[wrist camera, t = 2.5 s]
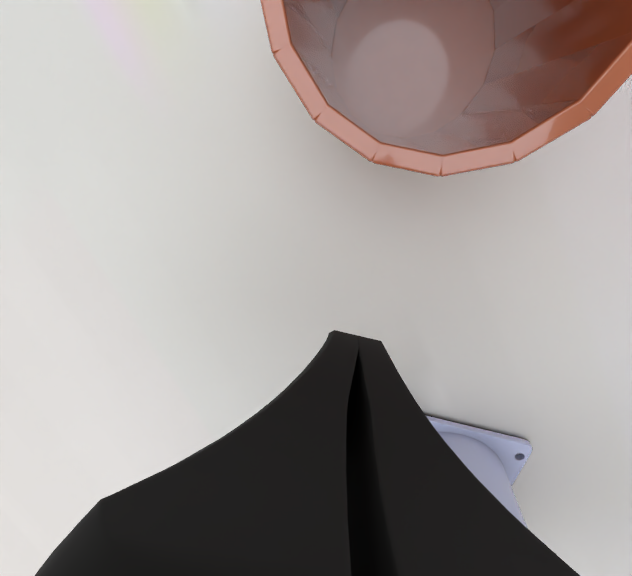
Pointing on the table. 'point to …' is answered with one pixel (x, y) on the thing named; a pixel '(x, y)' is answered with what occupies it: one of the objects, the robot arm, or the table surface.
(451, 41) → the cup
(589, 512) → the table surface
